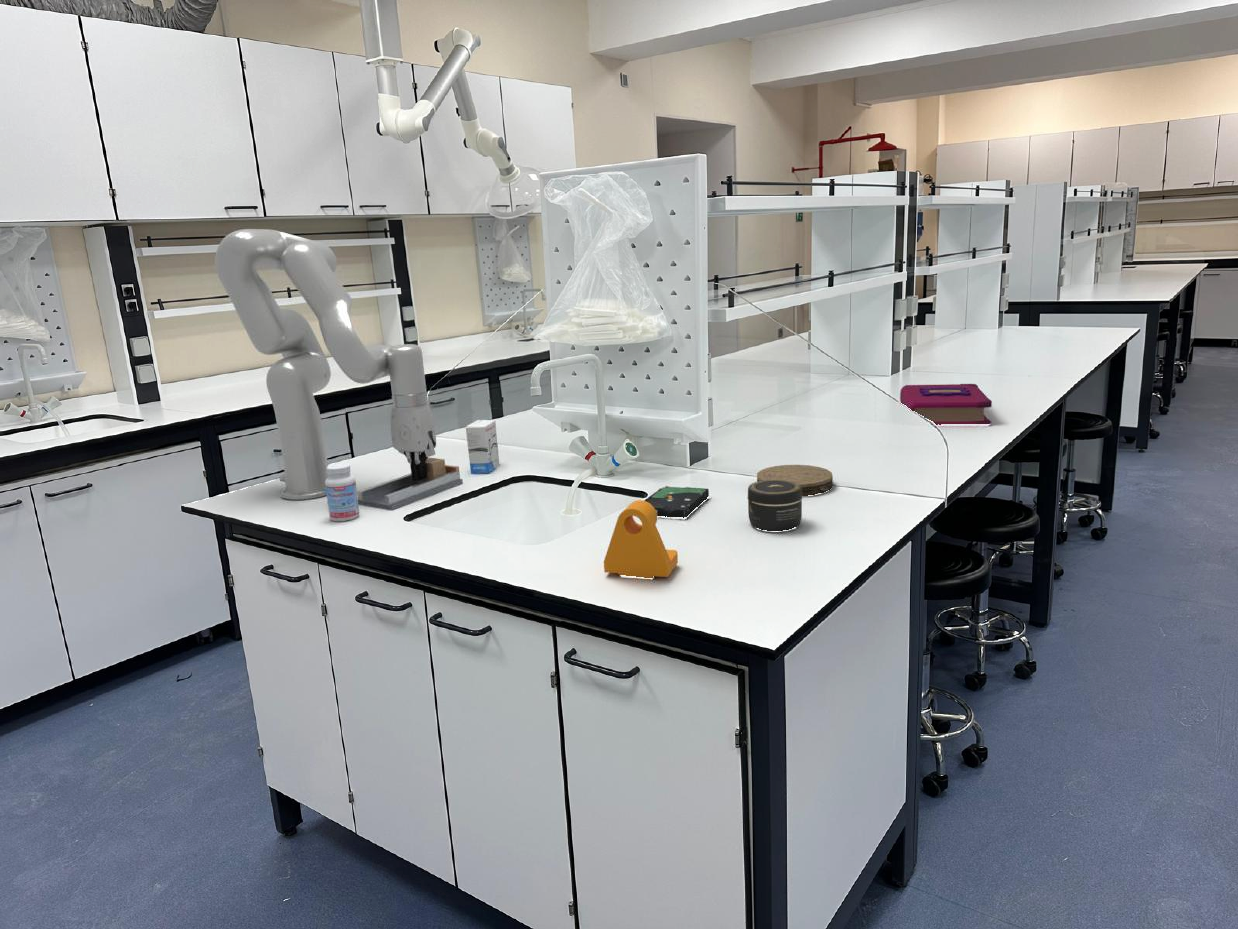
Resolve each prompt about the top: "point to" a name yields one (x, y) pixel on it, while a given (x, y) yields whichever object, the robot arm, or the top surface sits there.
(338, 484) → the pill bottle
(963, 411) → the book
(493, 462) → the ink box
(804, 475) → the cork trivet
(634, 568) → the bracket
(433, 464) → the block
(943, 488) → the top surface
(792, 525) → the jar
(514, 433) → the top surface
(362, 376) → the robot arm
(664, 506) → the disk drive
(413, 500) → the chute
